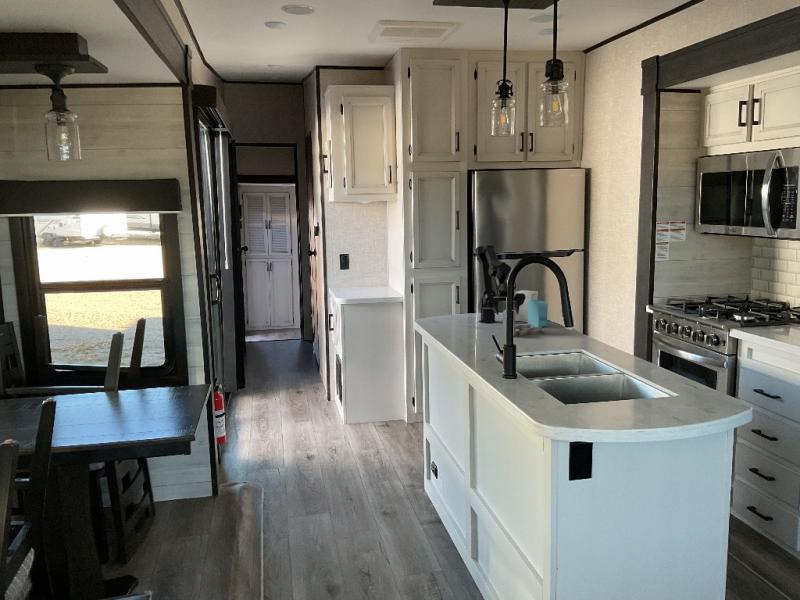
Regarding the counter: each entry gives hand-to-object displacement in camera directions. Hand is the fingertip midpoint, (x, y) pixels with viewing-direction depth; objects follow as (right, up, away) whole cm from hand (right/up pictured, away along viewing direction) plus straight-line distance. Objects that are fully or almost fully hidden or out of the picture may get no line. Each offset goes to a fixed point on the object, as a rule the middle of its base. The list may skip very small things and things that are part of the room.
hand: (507, 314), depth 300 cm
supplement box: (+15, -4, +38) cm, 41 cm away
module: (0, -10, -1) cm, 10 cm away
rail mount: (+9, -9, +7) cm, 14 cm away
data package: (+18, -6, +25) cm, 31 cm away
